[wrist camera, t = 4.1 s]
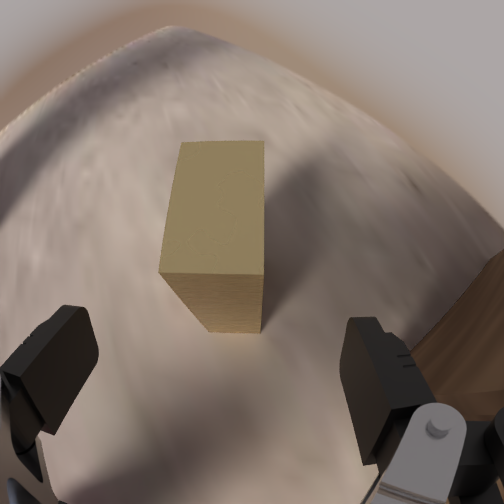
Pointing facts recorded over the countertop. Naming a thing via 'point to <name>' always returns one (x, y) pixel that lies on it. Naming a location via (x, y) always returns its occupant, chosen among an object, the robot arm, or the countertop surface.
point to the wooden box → (469, 350)
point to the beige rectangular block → (217, 234)
